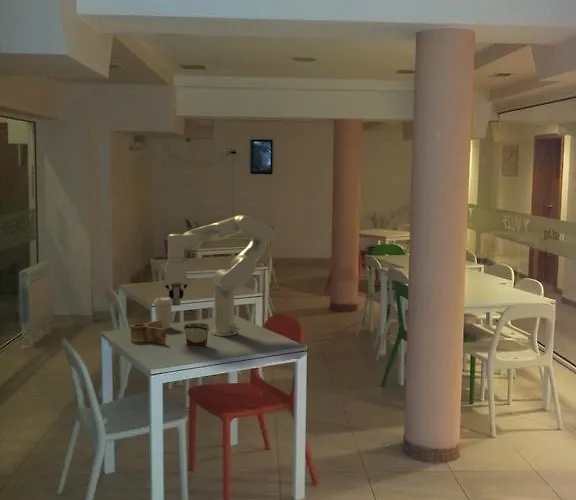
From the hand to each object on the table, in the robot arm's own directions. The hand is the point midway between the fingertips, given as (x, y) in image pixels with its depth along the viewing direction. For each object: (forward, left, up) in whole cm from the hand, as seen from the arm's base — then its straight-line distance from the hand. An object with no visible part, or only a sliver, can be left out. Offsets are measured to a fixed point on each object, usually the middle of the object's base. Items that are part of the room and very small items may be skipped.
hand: (176, 298), depth 342 cm
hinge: (+7, +7, -19) cm, 21 cm away
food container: (-19, +6, -20) cm, 28 cm away
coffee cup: (+20, -14, -20) cm, 31 cm away
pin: (0, 0, -3) cm, 3 cm away
